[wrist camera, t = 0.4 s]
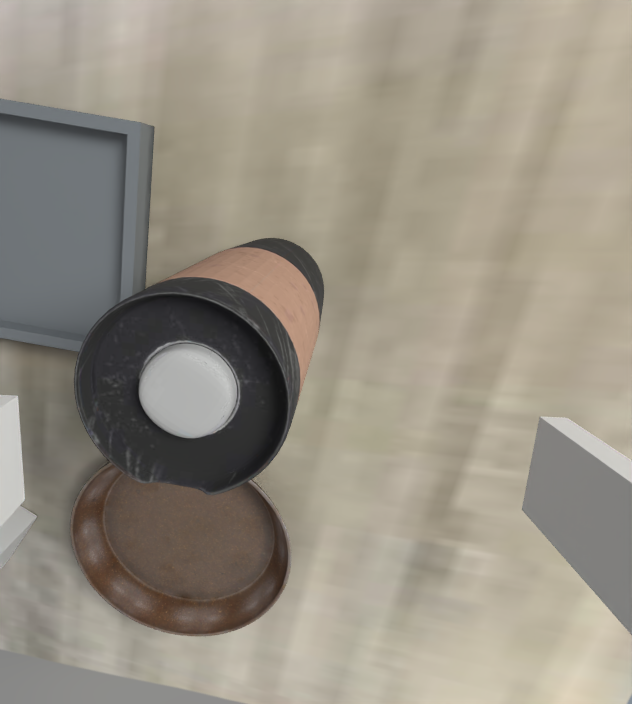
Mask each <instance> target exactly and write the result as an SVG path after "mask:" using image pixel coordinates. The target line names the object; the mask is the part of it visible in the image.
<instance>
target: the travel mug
mask: <svg viewBox="0 0 632 704" xmlns="http://www.w3.org/2000/svg"><path fill="white" fill-rule="evenodd" d="M323 298H324V284H323V279H322V275H321V272H320V270H319V268H318V266H317V264H316V262H315V261H314V259H313V258H312V257H311V256H310V255H309V254H308V253H307V252H306V251H305V250H304V249H303V248H301V247H300V246H298V245H296V244H294V243H292V242H290V241H287V240H283V239H277V238H265V239H260V240H255V241H252V242H249V243H246V244H243V245H240V246H237V247H234V248H231V249H228V250H224V251H222V252H219V253H217V254H215V255H213V256H211V257H209V258H207V259H205V260H203V261H201V262H199V263H197V264H195V265H193V266H191V267H189V268H187V269H185V270H183V271H181V272H179V273H177V274H175V275H173V276H171V277H169V278H167V279H165V280H163V281H161V282H159V283H157V284H155V285H153V286H151V287H149V288H147V289H144V290H142V291H140V292H138V293H136V294H134V295H132V296H130V297H128V298H126V299H124V300H123V301H121V302H120V303H118V304H117V305H115V306H114V307H112V308H111V309H109V310H108V311H107V312H106V313H105V314H104V315H103V316H102V317H101V318H100V319H99V320H98V321H97V322H96V323H95V325H94V326H93V327H92V328H91V330H90V331H89V333H88V334H87V336H86V338H85V340H84V341H83V343H82V346H81V349H80V351H79V354H78V358H77V362H76V367H75V376H74V389H75V398H76V403H77V408H78V411H79V414H80V417H81V420H82V422H83V424H84V427H85V429H86V431H87V433H88V434H89V436H90V438H91V439H92V441H93V442H94V444H95V445H96V446H97V448H98V449H99V450H100V451H101V453H102V454H103V455H104V456H105V457H106V458H107V459H108V460H109V461H110V462H111V463H112V464H113V465H114V466H115V467H116V468H118V469H119V470H120V471H121V472H122V473H124V474H125V475H127V476H128V477H130V478H131V479H133V480H135V481H137V482H140V483H144V484H145V483H156V482H159V483H167V484H173V485H179V486H184V487H190V488H194V489H198V490H201V491H203V492H204V493H205V494H207V495H216V494H220V493H224V492H227V491H229V490H232V489H234V488H236V487H239V486H241V485H242V484H244V483H246V482H248V481H250V480H251V479H253V478H254V477H255V476H257V475H258V474H259V473H261V472H262V471H263V470H264V469H265V468H266V467H267V466H268V465H269V464H270V462H271V461H272V460H273V459H274V457H275V456H276V455H277V453H278V452H279V450H280V448H281V447H282V445H283V443H284V441H285V439H286V437H287V434H288V431H289V429H290V426H291V423H292V419H293V416H294V413H295V409H296V406H297V403H298V400H299V396H300V393H301V390H302V386H303V383H304V380H305V376H306V373H307V370H308V367H309V363H310V360H311V357H312V353H313V350H314V347H315V344H316V340H317V336H318V332H319V326H320V320H321V313H322V306H323Z"/></svg>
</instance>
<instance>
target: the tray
mask: <svg viewBox="0 0 632 704" xmlns="http://www.w3.org/2000/svg"><path fill="white" fill-rule="evenodd" d="M153 142H154V126H150V125H147V124H144V123H141V122H135V121H129V120H123V119H117V118H111V117H105V116H99V115H94V114H88V113H82V112H76V111H70V110H64V109H58V108H52V107H46V106H40V105H35V104H29V103H23V102H17V101H11V100H5V99H0V338H4V339H10V340H16V341H21V342H27V343H32V344H38V345H43V346H49V347H54V348H60V349H66V350H71V351H77V352H79V351H80V349H81V346H82V343H83V341H84V340H85V338H86V336H87V334H88V333H89V331H90V330H91V328H92V327H93V326H94V325H95V323H96V322H97V321H98V320H99V319H100V318H101V317H102V316H103V315H104V314H105V313H106V312H107V311H108V310H109V309H111V308H112V307H114V306H115V305H117V304H118V303H120V302H121V301H123V300H124V299H126V298H128V297H130V296H132V295H134V294H136V293H138V292H140V291H142V290H144V289H145V281H146V264H147V246H148V229H149V212H150V194H151V177H152V160H153Z"/></svg>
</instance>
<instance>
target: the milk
mask: <svg viewBox="0 0 632 704" xmlns="http://www.w3.org/2000/svg"><path fill="white" fill-rule="evenodd" d="M36 518H37V516H36V515H35V514H33V513H32V512H30V511H28V510H27V509H25V508H24V507H22V506H19V507H18V508H17V509H16V510H15V512H14V513H13V514H12V515H11V516H10V517H9V518H8V520H7V521H6V522H5V523H4V524H3V525H2V526H1V528H0V569H1V568H2V567H3V566H4V565H5V564H6V563H7V562H8V560H9V559H10V557H11V556H12V554H13V553H14V551H15V550H16V548H17V547H18V545H19V544H20V542H21V541H22V539H23V538H24V536H25V535H26V533H27V532H28V530H29V529H30V527H31V526H32V524H33V523H34V521H35V520H36Z"/></svg>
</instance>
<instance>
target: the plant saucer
mask: <svg viewBox="0 0 632 704" xmlns="http://www.w3.org/2000/svg"><path fill="white" fill-rule="evenodd" d="M70 533H71V542H72V547H73V550H74V553H75V556H76V559H77V562H78V564H79V566H80V568H81V570H82V572H83V573H84V575H85V577H86V578H87V580H88V581H89V583H90V584H91V586H92V587H93V588H94V589H95V590H96V591H97V592H98V593H99V595H100V596H101V597H102V598H103V599H104V600H105V601H106V602H108V603H109V604H110V605H111V606H112V607H114V608H115V609H116V610H118V611H119V612H121V613H122V614H124V615H125V616H127V617H129V618H130V619H132V620H134V621H136V622H138V623H140V624H142V625H145V626H147V627H150V628H153V629H156V630H159V631H162V632H167V633H170V634H176V635H187V636H212V635H220V634H224V633H228V632H231V631H235V630H237V629H240V628H242V627H245V626H246V625H249V624H251V623H252V622H254V621H255V620H257V619H259V618H260V617H261V616H263V615H264V614H265V613H266V612H267V611H268V610H269V609H270V608H271V607H272V606H273V605H274V604H275V603H276V601H277V600H278V599H279V597H280V595H281V594H282V592H283V590H284V588H285V586H286V584H287V581H288V577H289V573H290V568H291V545H290V540H289V535H288V532H287V529H286V526H285V524H284V521H283V519H282V517H281V515H280V513H279V512H278V510H277V508H276V507H275V505H274V504H273V502H272V501H271V500H270V498H269V497H268V495H267V494H266V493H265V492H264V491H263V490H262V489H261V488H260V487H259V486H258V485H257V484H256V482H254V481H253V480H252V479H251V480H250V481H248V482H246V483H244V484H242V485H241V486H239V487H236V488H234V489H232V490H229V491H227V492H224V493H220V494H216V495H207V494H205V493H204V492H203V491H201V490H198V489H194V488H190V487H184V486H179V485H173V484H167V483H159V482H156V483H145V484H144V483H140V482H137V481H135V480H133V479H131V478H130V477H128V476H127V475H125V474H124V473H122V472H121V471H120V470H119V469H118V468H116V467H115V466H114V465H113V464H112V463H111V462H110V463H109V464H107V465H105V466H104V467H102V468H101V469H100V470H99V471H97V472H96V473H95V474H94V475H93V476H92V477H91V478H90V479H89V480H88V481H87V482H86V484H85V485H84V486H83V488H82V489H81V491H80V493H79V495H78V497H77V499H76V501H75V503H74V507H73V510H72V515H71V524H70Z"/></svg>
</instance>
